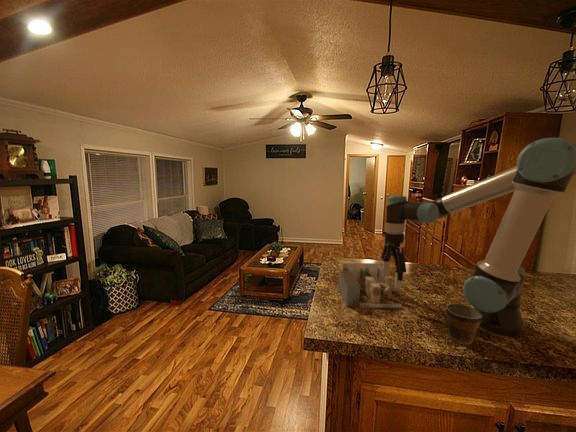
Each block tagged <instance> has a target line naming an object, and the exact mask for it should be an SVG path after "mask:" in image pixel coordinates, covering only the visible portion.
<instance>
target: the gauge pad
mask: <svg viewBox="0 0 576 432" xmlns="http://www.w3.org/2000/svg"><path fill="white" fill-rule="evenodd" d="M363 291H364V293H365V294H366V295H367V297H368V298H369V300H370V301H371V302H372V303H381V292H382V290H381V287H380V286H379V284H378V283H377V282H376V281H375V280H374V279H373V277H372V276H371V275H370V274H368V276H365V284H364V290H363Z"/></svg>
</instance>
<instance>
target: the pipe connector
mask: <svg viewBox="0 0 576 432" xmlns="http://www.w3.org/2000/svg"><path fill="white" fill-rule="evenodd" d="M378 284H379V286H380V287H382V288H385V290H382V291H383V294H384V295H386V298H387V300H392V297H393V296H392V292H396V293H401V294H402V292H403V287H402V288H395V281H394V280H393V276H392V275H389V276H387V284H386V283H384V284H383V283H380V282H378Z"/></svg>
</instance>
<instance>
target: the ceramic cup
mask: <svg viewBox="0 0 576 432" xmlns="http://www.w3.org/2000/svg"><path fill="white" fill-rule="evenodd" d="M441 306H443V307H444V308H445V312H444V311H443V309H442V308H441ZM438 309H439V311H440V312H441V314H442V315H443V316H444V318H445V319H446V322H447V335H448V337H449V339H450V340H452V341H453V342H455V343H457V344H459V345H466V346H470V345H471V344H472V343H473V342H474V339H475V338H476V334H477V333H478V329H479V327H480V326H479V325H480V322H481V319H482V314H481V313H480V312H479V311H478V310H476V309H474V307H473V306H469V305H466V304H462V303H447V304H446V303H439V305H438Z"/></svg>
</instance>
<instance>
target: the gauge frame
mask: <svg viewBox="0 0 576 432" xmlns="http://www.w3.org/2000/svg"><path fill="white" fill-rule="evenodd" d="M341 268H342V269H341V270H340V271H339V273H338V276H339V277H338V291H339V293H340V296H341V298H342V300H343V302H344V304H345V307H351V308H353V307H356V308H359V309H402V304H401V303H381V302H380V303H371V302H369V303H367V302H366V303H362V302H361V303H360V296H361V295H360V294H361V293H360V292H361V291H364V284H365V276H368V274H370V275H371V276H372V277H373V279H374V280H375V281H376V282H377V283H378V282H380V283H383V284H386V283H385V280H386V276H383V262H382V263H378V262H377V263H376V262H375V263H372V262H365V263H364V262H342V266H341ZM384 290H385V288H382V287H381V291H384Z"/></svg>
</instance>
